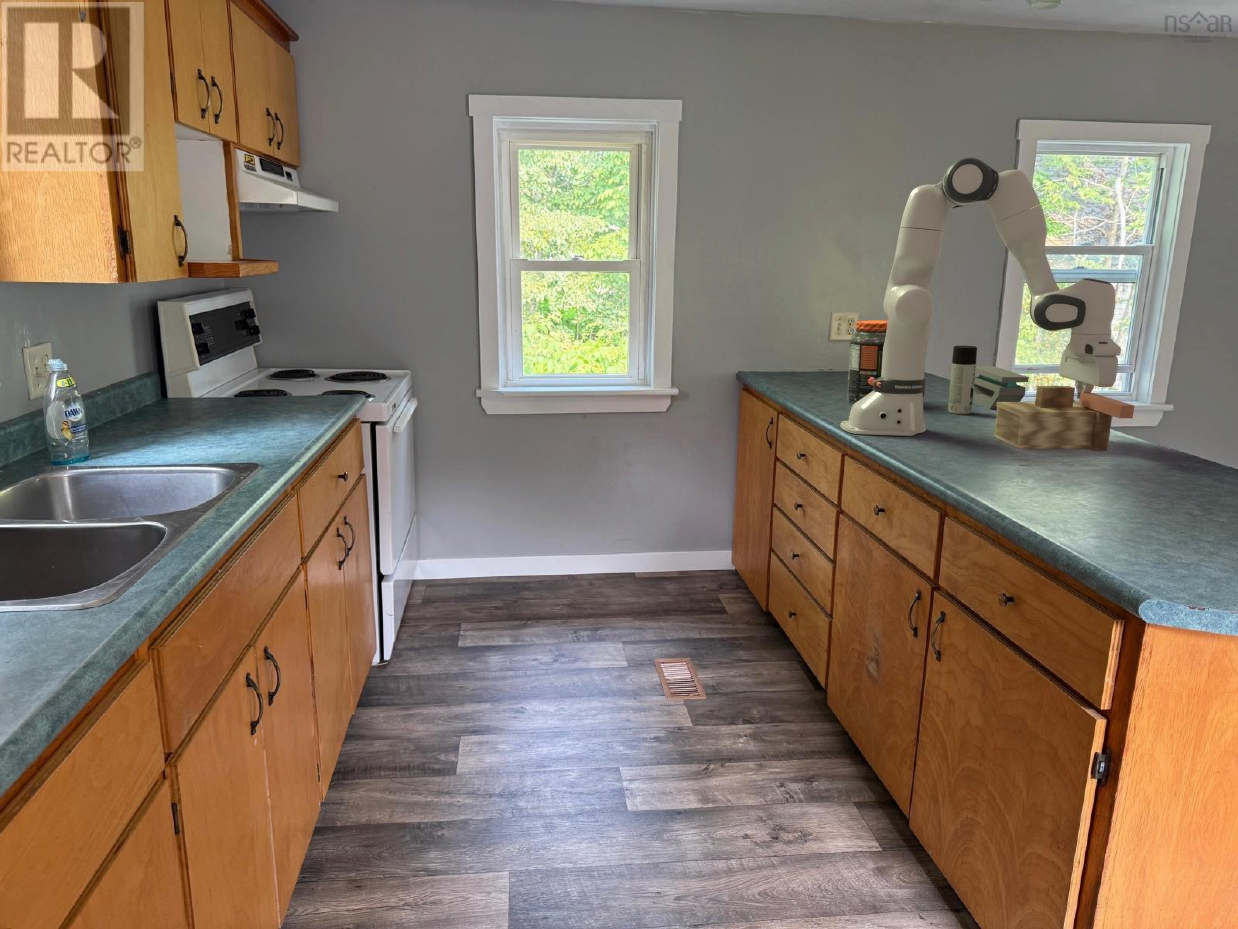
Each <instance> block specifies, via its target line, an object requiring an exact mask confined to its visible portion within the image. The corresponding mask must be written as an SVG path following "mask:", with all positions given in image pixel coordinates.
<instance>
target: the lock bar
mask: <svg viewBox="0 0 1238 929" xmlns="http://www.w3.org/2000/svg"><path fill="white" fill-rule="evenodd" d="M1078 400H1079V401H1078V402H1079V405H1081V406H1084V407H1087V408H1090V409H1093V410H1096V411H1099V412H1102V413H1105V414H1108V415H1111V416H1114V418H1117V419H1133V418H1134V411H1135V405H1134V404H1130V403H1127V402H1124V401H1120V400H1117V399H1114V398H1111V397H1107V396H1105V395H1104V396H1103V395H1100V394H1098V393H1094V392H1091V393H1080V399H1078Z"/></svg>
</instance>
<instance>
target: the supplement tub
mask: <svg viewBox="0 0 1238 929" xmlns="http://www.w3.org/2000/svg"><path fill="white" fill-rule="evenodd" d="M887 324H888V320H881V319H880V320H878V319H877V320H876V319H874V320H872V319H869V320H857V321H856V324H855V331H854V333H853V334H852V335H851V337H850V340H849V358H848V359H849V360H848V379H847V399H848V401H849V402H851V403H853V404H855V403H856V402H858V401H859V400H861V399H862V398H863V397H865V396H866V395H868V394H869V393H871V392H872V391H873V385H871V384H869V383H868V381H870V380H868V379H870V378H871V377H873V378H875V379H878V378H879V377H881V372H882V358H883V347H884V343H885V337H886V331H887Z"/></svg>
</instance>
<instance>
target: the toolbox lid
mask: <svg viewBox="0 0 1238 929" xmlns="http://www.w3.org/2000/svg"><path fill="white" fill-rule="evenodd" d="M1075 390H1076V387H1075V386H1074V387H1073V386H1070V385H1050V386H1049V385H1037V386H1036V394H1035V401H1020V402H997V405H996V407H999V408H1001V409H1004V410H1006V411H1008V412H1011V413H1013V414H1016V415H1018V416H1021V417H1096V412H1099V411H1096V410H1093V409H1090V408H1087V407H1084V406H1081V405H1079V401H1075V400H1074V398H1075V393H1076V392H1075ZM1073 400H1074V401H1075V402H1073ZM1113 417H1114V416H1112V418H1113ZM1114 418H1115V417H1114Z"/></svg>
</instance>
